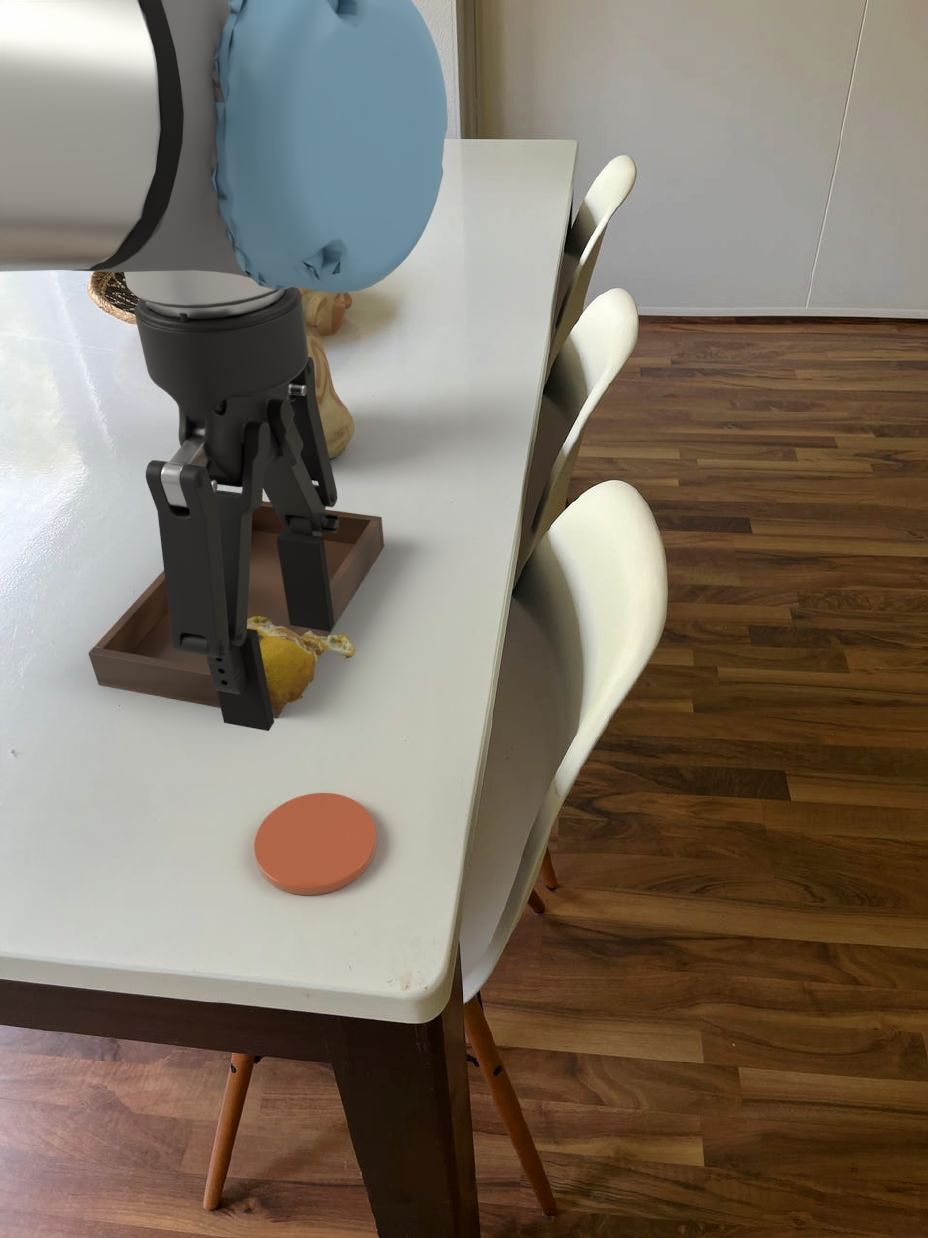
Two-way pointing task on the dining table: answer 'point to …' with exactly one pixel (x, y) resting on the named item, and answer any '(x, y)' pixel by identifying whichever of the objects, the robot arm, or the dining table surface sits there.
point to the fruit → (292, 658)
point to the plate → (315, 844)
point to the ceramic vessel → (327, 364)
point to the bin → (143, 633)
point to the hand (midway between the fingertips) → (282, 670)
